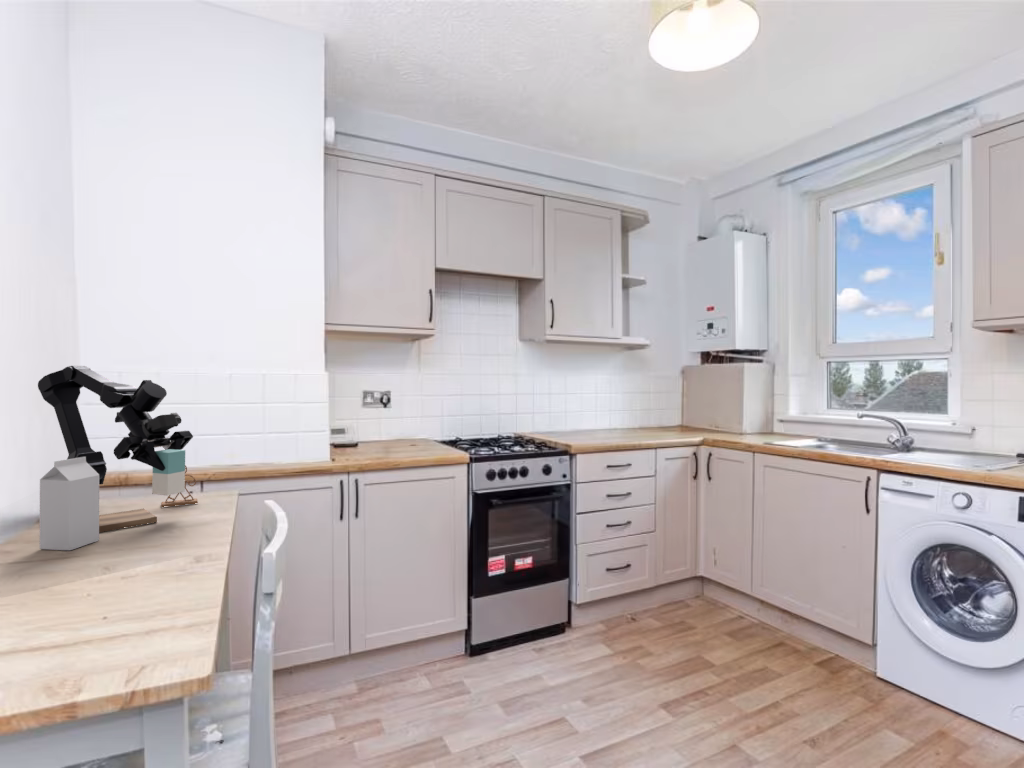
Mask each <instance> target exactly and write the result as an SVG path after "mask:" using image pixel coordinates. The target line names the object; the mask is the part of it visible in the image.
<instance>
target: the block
mask: <svg viewBox="0 0 1024 768" xmlns="http://www.w3.org/2000/svg"><path fill="white" fill-rule="evenodd" d="M155 452H156V453H157V455H158V456H159V458H160V459H161V461H162V462H163V464H164V466H165V470H164V471H161V470H159V469H156V468H154V467H152V479H151V480H152V481H151V482H152V484H151V494H152V495H158V496H167V497H168V496H169V495H170V496H172V495H177V494H178V493H179V494H180V493H184V492H186V491H185V490H186V489H185V480H186V476H185V475H186V473H185V471H186V469H185V468H186V467H185V465H186V449H181V450H176V449H167V450H165V449H160V450H156V451H155Z"/></svg>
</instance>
